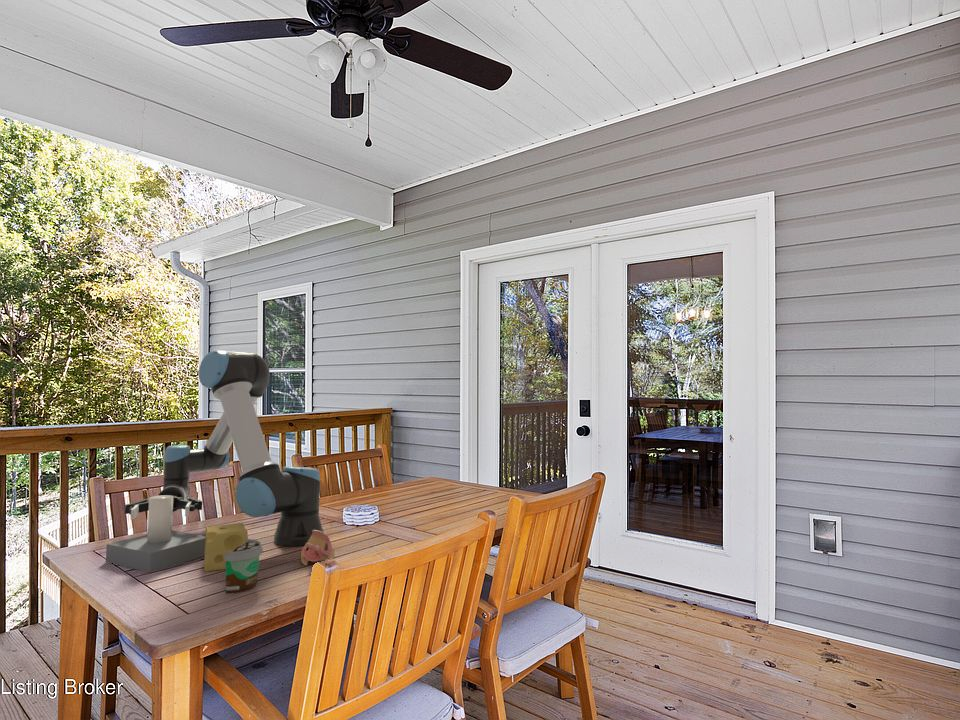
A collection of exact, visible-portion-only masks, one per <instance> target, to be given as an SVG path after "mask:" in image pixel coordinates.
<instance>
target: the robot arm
mask: <svg viewBox="0 0 960 720" xmlns="http://www.w3.org/2000/svg"><path fill="white" fill-rule="evenodd" d="M268 365H269V364H267V361H266V360H265V359H264V358H263V357H262V356H261V355H259V354H257V353H254V352H243V351H229V350H223V349H222V350H212V351H210V352H208V353H207V354H206V355H205V356H203V357H202V360H201V362H200V365H199V369H198V378H199V382H200V385H202V386H203V387H205V388H207V389H210V390H211V392H212V395H213V398H215V399H216V400H218V401H220V402H221V405H222V409H223V413H222V414H221V416H220V418H219V419H218V422H217V424H216V426H215V427H214V429H213V431H212V432H211V435H210V437H209V438H208V441H207V442H206V444H205V445H204V447H203V448H199V449H191V446H190V445H186V444H185V445H181V444H179V445H178V444H177V445H169V446H167V447H166V448H165V451H164V452H165V453H164V457H163V461H164V465H163V466H164V467H163V469H164V471H163V472H164V473H163V474H164V475H163V481H162V482H163V485H162V486H163V487H162V490H161V491H160V492H159V493H158V495H157V496H160V495H171V496H173V513H174V512H176V511H177V510H185V511H184V512H185V513H184V516H185V517H188V516H189V515H190V513H191V512H195V511H196V510H197V511H201V510H203V500H199V499H197V498H195V497H194V496H189V495H190V490H191V489H190V485H189V484H190V483H189V481H190V473H196V472H203V471H211V470H213V471H214V470H218V469H222V468H223V469H224V468H225V467H227V466H228V464H229V463H230V459H231V455H230V454H231V453H230V451H229V450H230V448H231V446H232V444H233V445H234V448H235V450H236V454H237V457H238V461H239V465H240V467H241V470H242V471H241V472H240V475H239V477H238V479H239V482H238V484H237V485H236V487H235V491H236V492H235V495H234V496H235V501H236V504H237V506H238V508H239V509H240V511H241V512H242V513H243V514H245V515H246V516H249V517H250V518H260V517H268V516H270V515H273V514H278V513H280V518H279V520H278V522H277V527H276V531H275V532H274V535H273V536H274V537H273V542H274V543H275V544H276V545H278V546H283V547H284V546H285V547H303V546H302V545H304V546H305V544H306V542H308V540H309V539H310V537H311V535H312V531H313V530H318V531H321V532H323V533H325V531H324V528H323V525H322V521H321V518H320V500H321V499H320V498H321V497H320V496H321V472H320V471H319V469H318V468H314V467H304V466H290V465H289V466H288V465H287V466H286V465H285V466H284V467H282V470H281V468H280V465H279V464H278V463H277V462H274V461H273V460H272V458H271V456H270V452H269V449H268V446H267V443H266V439H265V436H264V434H263V430H262V428H261V424H260V422H259V418H258V416H257V411H256V409H255V406H254V405H255V404H256V402H257V401H258V399H259V398H262V397H263V396H264V394H265V392H266V390H267V388H268V386H269V383H270V377H271V375H270V374H271V373H270V367H269V366H268ZM147 511H148V512H149V498H147V497H145V498H143V499H141V500H138V501H134V502H131V503H128V504H125V505H124V515H125V514H126V515H127V514H128V515H130V520H134V519H136V518H137V516H138V515H139V513H143V512H147Z"/></svg>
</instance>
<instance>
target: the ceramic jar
mask: <svg viewBox="0 0 960 720" xmlns="http://www.w3.org/2000/svg"><path fill="white" fill-rule="evenodd" d="M148 499H149V511H148V515H147V533H146V534H147V542H148V543H163V542H167V541H170V540H171V539H172V530H173V513H174V512H173V496H171V495H160V496H158V495H154V496H150V497H149V498H148Z"/></svg>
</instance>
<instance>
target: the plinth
mask: <svg viewBox="0 0 960 720" xmlns="http://www.w3.org/2000/svg"><path fill="white" fill-rule="evenodd" d="M105 551H106V552H105V563H106V562H109V563H108V564H110V563H113V564H112V565H115V564H117V565H116V566H119V565H121V566H120V567H123V566H125V567H124V568H128V567H129V569H133V570H136V571H141V572H146V573H148V574H149V573H153V572H157V571H160V570H163V569H166V568H170V567H173V566H176V565H179V564H182V562H183V563H185V562H189V561H192V560H195V559H198V558H201V557H205V535H200V534H195V533H194V534H193V533H191V532H190V533H189V532H184V531H183V532H182V531H179V530H173V529H172V539H171V540H170V541H167V542H163V543H148V542H147V533H146V534H142V535H138V536H134V537H130V538H125V539H121V540H117V541H113V542H110V543H106V550H105ZM175 564H176V565H175ZM172 565H173V566H172ZM169 566H170V567H169Z"/></svg>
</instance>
